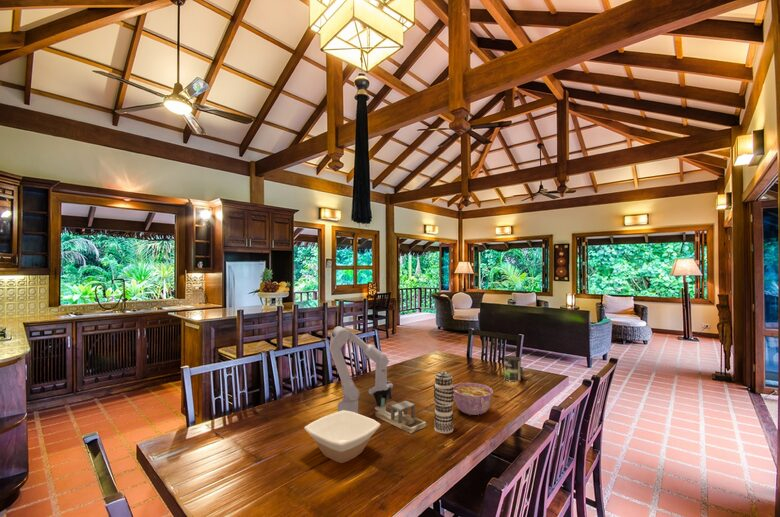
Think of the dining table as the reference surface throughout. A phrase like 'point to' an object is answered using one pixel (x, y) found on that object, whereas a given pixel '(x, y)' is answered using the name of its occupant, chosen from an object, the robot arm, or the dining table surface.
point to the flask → (389, 389)
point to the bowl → (342, 434)
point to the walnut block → (388, 406)
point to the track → (403, 417)
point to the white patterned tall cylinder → (443, 402)
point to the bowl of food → (472, 398)
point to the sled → (383, 408)
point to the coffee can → (512, 368)
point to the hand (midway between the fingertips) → (381, 405)
